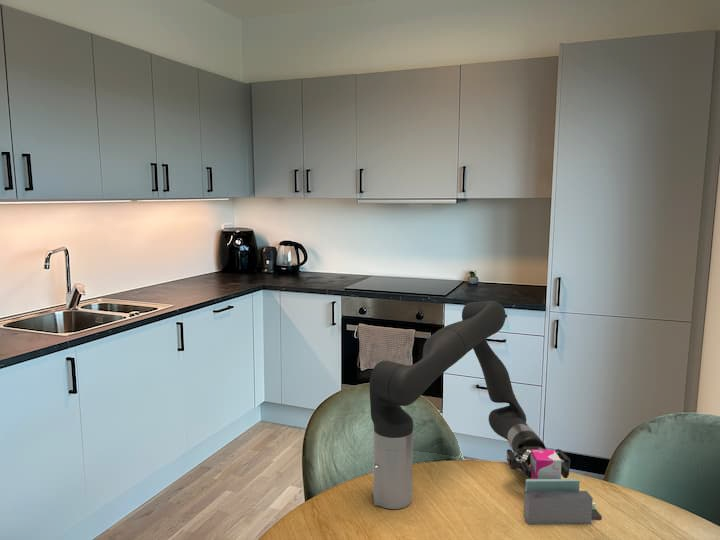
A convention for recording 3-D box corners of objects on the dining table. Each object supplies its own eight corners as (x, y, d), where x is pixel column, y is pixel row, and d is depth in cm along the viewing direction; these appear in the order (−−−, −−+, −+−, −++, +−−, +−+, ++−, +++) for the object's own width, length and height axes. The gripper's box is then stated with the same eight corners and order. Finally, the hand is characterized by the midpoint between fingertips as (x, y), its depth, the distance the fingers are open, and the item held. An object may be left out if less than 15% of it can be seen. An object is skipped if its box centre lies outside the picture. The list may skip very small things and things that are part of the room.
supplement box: (553, 494, 128) (555, 449, 127) (560, 507, 122) (562, 460, 121) (528, 493, 129) (530, 448, 127) (534, 506, 123) (536, 459, 121)
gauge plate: (525, 510, 120) (527, 481, 119) (524, 507, 121) (525, 479, 120) (595, 509, 121) (597, 481, 120) (593, 507, 122) (595, 478, 121)
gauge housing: (528, 524, 116) (529, 498, 115) (513, 498, 126) (514, 474, 126) (604, 523, 116) (606, 498, 115) (583, 497, 127) (585, 474, 126)
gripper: (499, 430, 138) (518, 459, 122) (553, 429, 138) (579, 458, 122) (498, 457, 139) (517, 489, 123) (551, 457, 139) (577, 489, 123)
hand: (548, 474), depth 123 cm, fingers open, 8 cm apart
